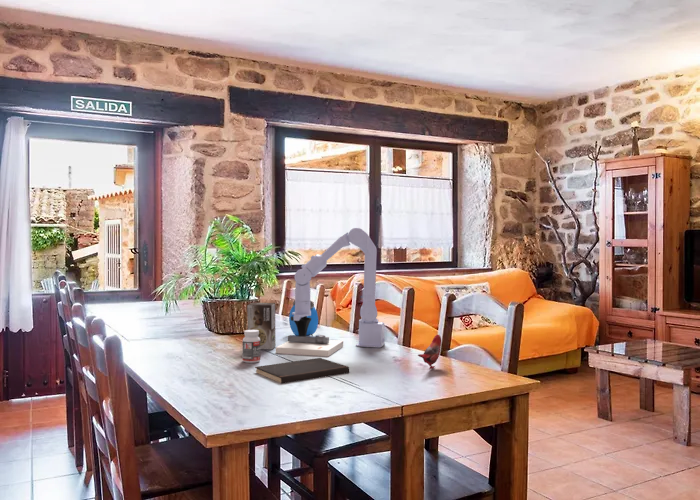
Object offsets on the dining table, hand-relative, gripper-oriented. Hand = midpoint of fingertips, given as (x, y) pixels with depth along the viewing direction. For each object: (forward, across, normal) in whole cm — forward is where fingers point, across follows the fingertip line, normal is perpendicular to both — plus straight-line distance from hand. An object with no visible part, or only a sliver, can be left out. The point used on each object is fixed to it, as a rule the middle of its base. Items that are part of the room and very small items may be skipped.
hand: (302, 337), depth 218 cm
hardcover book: (+3, +42, +14) cm, 45 cm away
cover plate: (+3, +8, +6) cm, 11 cm away
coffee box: (+3, +10, -12) cm, 16 cm away
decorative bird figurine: (+3, +29, +51) cm, 58 cm away
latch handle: (0, +6, +4) cm, 8 cm away
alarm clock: (+3, -18, -6) cm, 19 cm away
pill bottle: (+3, +32, -6) cm, 33 cm away
